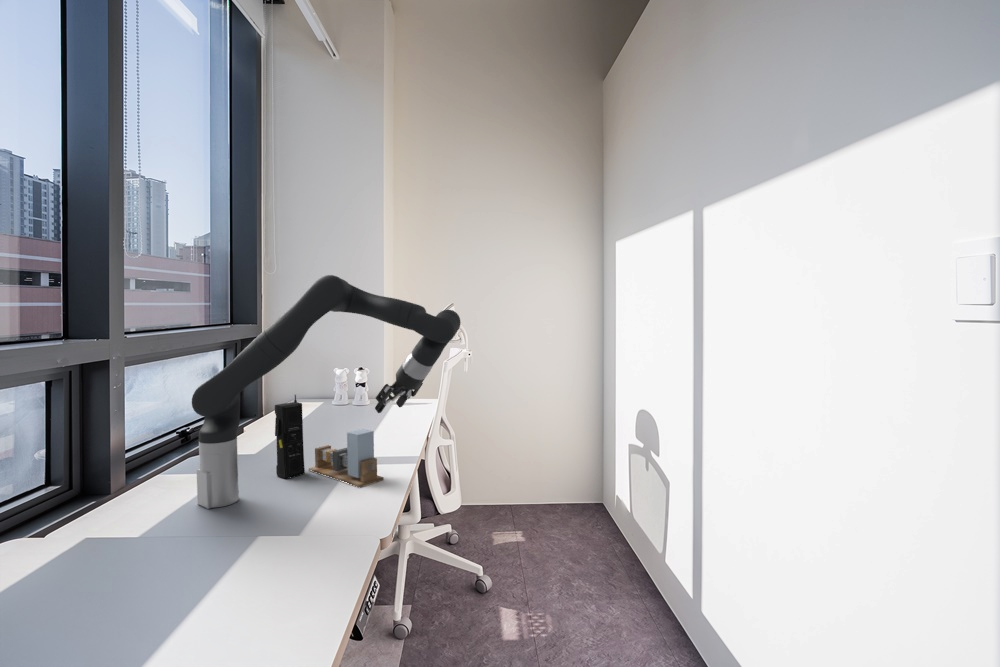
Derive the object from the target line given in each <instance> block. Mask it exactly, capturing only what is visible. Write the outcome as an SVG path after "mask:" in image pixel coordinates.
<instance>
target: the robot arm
mask: <svg viewBox="0 0 1000 667" xmlns="http://www.w3.org/2000/svg"><path fill="white" fill-rule="evenodd" d="M329 312H333V313H335V312H337V313H339V312H340V313H348V314H349V313H350V314H356V315H362V316H367V317H369V318H374V319H377V320H379V321H382V322H384V323H388V324H390V325H392V326H395V327H396V326H397V327H400V328H403V329H407V330H411V331H413V332H415V333H417V334H419V336H420V335H421V336H422V337H421V338H420V339H419V340H418V342H417V344H415V346H414V347H413V349H412V351H410V353H409V354H408V355H407V356H406V358H405V359H404V361H403V362H402V364H401V365H400V367H399V368H398V369H397V371H396V373H395V381H394V382H393V383H392V384H391V385H389V383H386V384H385V385H384V386H382V388H381V390H380V391H379V392H378V394H377V395H376V397H375V400H376V401H377V404H376V405H375V407H374V410H375V411H376V412H377V413H378V414H381V413H383V410H384V409H385V407H386V406H387V404H389V403H390V402H394V401H395V400H396V402H395V404H396V405H397V406H398V408H402V407H403V406H404V405H405V403H406V402H407V401H408V400H409V399H411V397H416V394H418V392H419V390H420V389H421V388H422V386H423V384H424V383H423V382H424V381H425V379H426V378H427V376H428V375H430V372H431V370H432V369H433V366H434V365H435V364H436V362H437V361H438V359H439V358H440V356H441V355H442V353H443V351H444V350H445V348H446V347H447V345H448V344H449V342H450V341H451V340H453V339H454V337H455V336H456V334H457V332H458V331H459V329H460V327H461V318H460V315H459V314H458V313H457V312H456V311H454V310H452V309H444V310H441V311H440V312H438V313H437V314H436V316H435V315H432V314H430V313H428V312H427V310H426V308H425V307H424V306H422V305H420V304H417V303H415V302H414V303H413V302H410V301H407V300H402V299H398V298H395V297H389V296H383V295H378V294H374V293H370V292H367V291H365V290H363V289H360V288H359V287H356V286H354V285H352V284H350V283H349V282H348V281H346V280H344V279H343V278H340V277H339V276H337V275H333V274H332V275H331V274H327V275H324V276H321V277H320V278H318V279H317V280H315V282H314V283H313V284H312V285H311V286H310V287H309V288H308V289H307V290H306V291H305V293H303V295H302V296H300V298H299V299H298V300H297V301H296V302H295V303H294V304H293V305H292V307H290V308H289V309H288V310H286V311H285V312H284V313H283V314H282V315H281V316H279V317H278V318H277V319H276V320H275V321H273V323H271V324H270V325H269V326H268V327H266V328H265V329H264V330H262V332H261V333H259V334H258V335H257V336H256V338H254V339H253V340H252V341H251V342H250V343H249V344H248V345H247V346H246V347H244V349H243V350H241V352H240V353H239V354H237V356H236V357H235V358H234V359H233V360H232V361H231V362H230V363H229V364H228V365H227V366H225V367H224V368H223V369H222V370H220V371H219V372H217V373H216V374H215V375H213V376H211V378H209V379H208V380H206V381H205V382H203V383H202V384H200V385H199V386H198V387H197V388H196V389H195V391H194V392H193V393H192V397H191V406H192V409H193V411H194V413H196V414H197V415H199V416H200V417H204V420H203V423H202V426H201V428H200V430H199V431H198V456H199V460H198V461H199V468H197V469H196V490H197V492H196V493H197V495H196V496H197V505H200V506H201V507H202V508H205V509H207V510H209V509H212V508H214V509H215V508H220V507H221V508H222V507H226V506H229V505H232V504H235V503H237V502H238V501H239V500H240V494H239V493H240V490H239V461H238V460H239V458H238V457H239V456H238V453H239V452H238V429H239V427H240V419H241V418H240V417H241V416H240V414H241V413H240V412H241V411H240V409H241V408H240V407H241V404H240V403H241V399H240V393H241V392H242V391H243V390H245V389H246V388H247V387H248V386H249V385H252V383H254V382H255V381H257V380H258V379H260V378H262V377H263V376H265V375H267V374H268V373H270V372H271V371H273V370H274V369H275V368H277V367H278V366H280V365H281V364H282V363H283V362H284V361H285V360H286V359H288V358H289V357H290V356H291V355H292V354H293V353H294V352H295V351H296V350H297V349H298V347H299V346H300V344H301V343H302V341H303V339H304V338H305V336H306V335H307V333H308V331H309V330H310V329H311V327H312V326H313V325H314V324H316V322H318V321H319V320H320V319H321V318H322V317H324V316H325V315H326V314H328V313H329ZM392 394H393V396H392Z"/></svg>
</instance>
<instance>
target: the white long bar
mask: <svg viewBox="0 0 1000 667" xmlns="http://www.w3.org/2000/svg"><path fill="white" fill-rule="evenodd" d="M335 450H338V448H337V449H336V448H335V449H334V448H331V449H330V448H326V449H322V450H320V457H321V459H322V460H325V461H326V462H332V463H333V451H335ZM339 458H340V465H341V466H345V467H348V456H347V453H344V454H340V455H339ZM365 460H367V459H365ZM361 461H363V460H361ZM372 462H373V461H372ZM369 463H370V464H371V462H369ZM373 464H374V462H373V463H372V465H373ZM366 466H367V465H366ZM368 466H370V465H368ZM370 468H371V466H370ZM372 468H374V465H373V467H372ZM366 470H367V469H366ZM368 470H369V468H368ZM373 470H374V469H373ZM373 470H370V472H371V471H373ZM366 472H367V471H366ZM368 472H369V471H368Z"/></svg>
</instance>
